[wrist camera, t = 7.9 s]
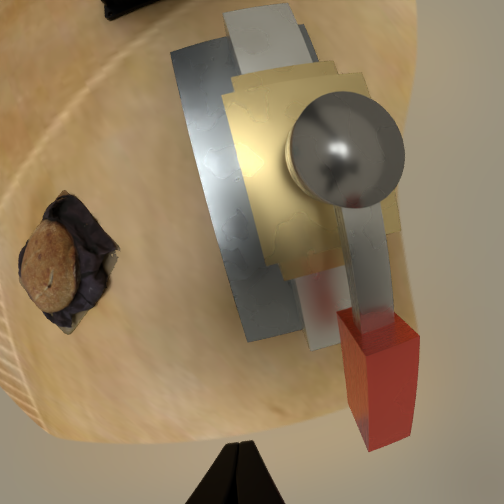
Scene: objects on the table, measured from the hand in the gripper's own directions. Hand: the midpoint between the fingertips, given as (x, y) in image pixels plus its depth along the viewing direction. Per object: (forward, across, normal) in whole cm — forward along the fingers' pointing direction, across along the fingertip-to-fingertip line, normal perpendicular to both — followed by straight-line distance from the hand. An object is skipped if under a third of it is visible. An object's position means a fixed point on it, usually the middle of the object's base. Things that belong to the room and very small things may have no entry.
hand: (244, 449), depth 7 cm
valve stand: (+13, -5, -7) cm, 16 cm away
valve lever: (+4, -5, -3) cm, 7 cm away
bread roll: (+14, +14, -6) cm, 20 cm away
